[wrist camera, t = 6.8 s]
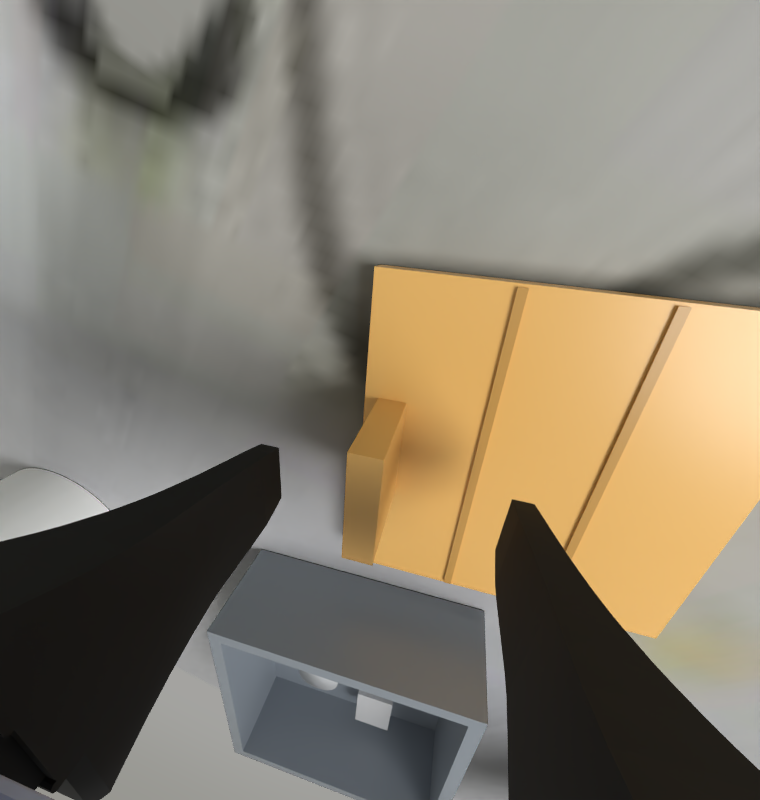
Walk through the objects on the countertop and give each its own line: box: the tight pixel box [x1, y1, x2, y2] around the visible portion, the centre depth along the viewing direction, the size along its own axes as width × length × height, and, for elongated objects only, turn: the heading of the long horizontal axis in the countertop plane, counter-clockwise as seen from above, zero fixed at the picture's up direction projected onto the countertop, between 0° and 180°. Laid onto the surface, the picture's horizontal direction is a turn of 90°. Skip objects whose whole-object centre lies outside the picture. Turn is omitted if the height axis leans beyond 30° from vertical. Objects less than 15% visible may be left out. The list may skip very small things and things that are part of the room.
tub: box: [207, 550, 488, 800], centre depth 19 cm, size 12×12×4 cm
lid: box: [342, 264, 760, 639], centre depth 11 cm, size 13×13×5 cm
